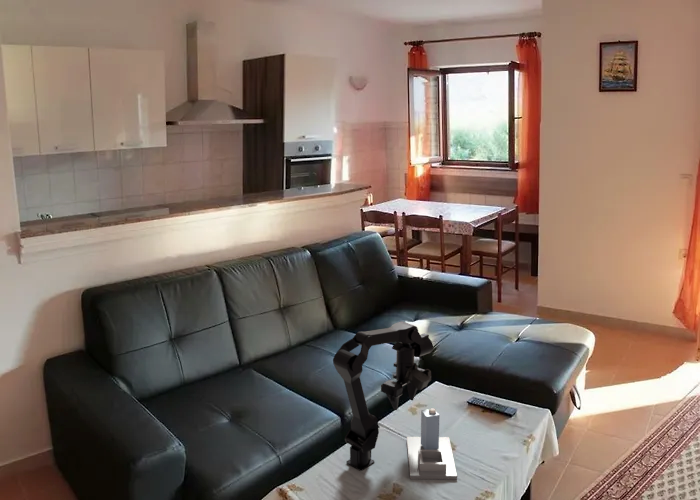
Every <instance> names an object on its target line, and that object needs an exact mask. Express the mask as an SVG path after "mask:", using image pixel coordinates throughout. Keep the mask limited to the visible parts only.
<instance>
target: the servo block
mask: <svg viewBox="0 0 700 500" xmlns="http://www.w3.org/2000/svg"><path fill="white" fill-rule="evenodd" d="M420 411H421V412H420V415H421V416H420V417H421V418H420V437H421V445H422V446H423V448H424V449H425V450H435V449H439V437H440V413H439V412H437V410H436V409H435V408H432V407H431V408H429V409H428V408H427V409H421V410H420Z"/></svg>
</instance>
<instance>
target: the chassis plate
mask: <svg viewBox="0 0 700 500" xmlns="http://www.w3.org/2000/svg"><path fill="white" fill-rule="evenodd" d="M406 445H407V446H406V447H407V459H408V469H409V478H410V480H458V474H457V470H456V464H455V459H454V455H453V450H452V445H451V441H450V437H449V436H439V449H435V450H425V449H424V448H423V446H422V445H421V436H406Z"/></svg>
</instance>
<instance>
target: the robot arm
mask: <svg viewBox="0 0 700 500" xmlns="http://www.w3.org/2000/svg"><path fill="white" fill-rule="evenodd" d="M391 343H395V344H393V346H392V347H391V349H392V350H394V351H396V360H395V361H396V362H394V363H393V367H395V373H394V374H393V375H392V376H393V377H392V378H393V379H395V380H396V381H394V380H391V379H388V380H387V381H385V382H383V383H382V384H380V392H381V393H383V394H385V395H386V397H387V399H388V400H389V402H390V404H391V406H392V409H393V410H394V411H398V408H399V401H400V397H401V396H402V395H403V394H404V393H403V391H404V390H403V388H404V386H406V387H407V393H408V398H409V400H410V401H414V399H415V396H416V393H417V391H418V390H419V391H421V390H423V389H424V388H426V387H427V386H428V385H429V383H430V382H431V381H432V370H430V369H429V368H426V369H423V368H420V367H418V364H417V362H415V358H420V357H422V356H425V355H428V354H431V353H432V352H433V350H434V345H433V342H432V340H431V339H430V335H429V334H428V333H426V332H424V333H420V331H419V328H418V327H417V326H416V325H414V324H411V323H408V322H405V321H401V320H400V321H398V322H395V323H393V324H392V325H391V326H390V327H386V328H380V329H373V330H367V331H358V332H356V333H355V334H354V336H353V337H352V338H350V339H349V340H347V341H346V342H344V343H343V344H342V345H341V346H340V347H339V349H338V350H337V351H336V353H335V354H334V355H333V358H332V364H333V365H334V368H335V370H336V372H337V374H339V376H340V377H341V378H342V380H343V382H344V386H345V390H346V393H347V398H348V401H349V404H350V409H351V413H352V418H351V421H350V428H349V430H348V431H347V433H346V434H345V436H344V441H345V443H346V444H348V445H350V447H349V459H348V460H346V464H347V465H349V466H351V467H353V468H354V469H357V470H359V471H363V470H366V469H367V468H368V467H370V466H372V465H373V464H375V459H372V450H373V449H375V448H376V444H377V441H378V437H379V435H380V434H379V433H380V432H379V431H380V430H379V428H380V425H379V423H378V422H379V421H378V418H377V417H376V416H375V415H373V414H371V413H370V412H369V408H368V405H367V401H366V398H365V393H364V389H363V384H362V380H361V375H362V372H363V365H364V364H365V362H366V361H367V359H368V356H369V350H370V349H371V347H373V346H374V347H375V346H379V345H384V344H391ZM359 346H361V347H360V352H359V353H358V354H356V353H353V352H351V351H353V350H354V349H356V348H358V347H359Z"/></svg>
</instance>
